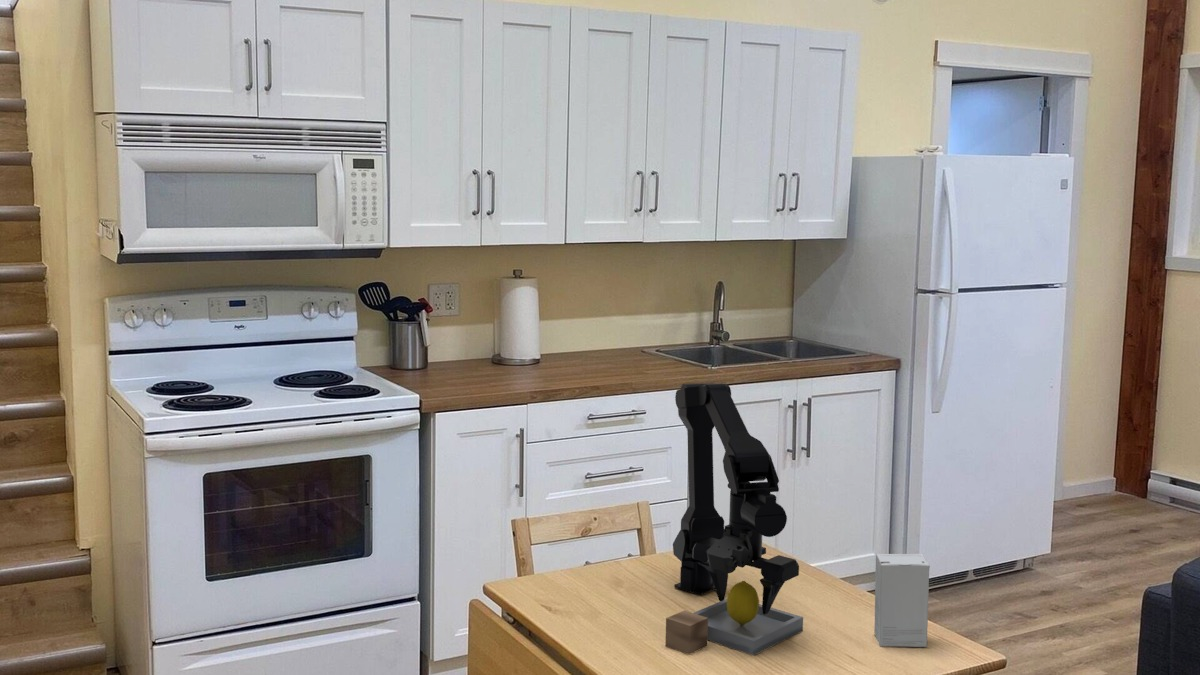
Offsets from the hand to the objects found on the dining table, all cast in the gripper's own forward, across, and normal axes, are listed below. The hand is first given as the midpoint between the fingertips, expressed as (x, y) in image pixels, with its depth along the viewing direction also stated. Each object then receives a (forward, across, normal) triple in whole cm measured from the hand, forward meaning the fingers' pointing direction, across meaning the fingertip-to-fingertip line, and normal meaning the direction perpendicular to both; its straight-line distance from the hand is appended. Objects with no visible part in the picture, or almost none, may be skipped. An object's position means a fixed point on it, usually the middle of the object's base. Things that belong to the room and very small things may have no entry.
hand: (743, 607), depth 206 cm
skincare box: (+5, +22, +15) cm, 27 cm away
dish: (+4, 0, 0) cm, 4 cm away
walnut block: (+4, -3, -12) cm, 13 cm away
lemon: (+4, 0, 0) cm, 4 cm away
